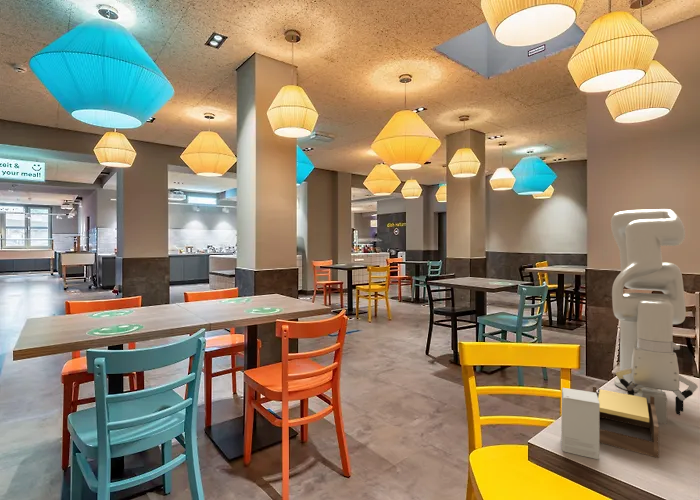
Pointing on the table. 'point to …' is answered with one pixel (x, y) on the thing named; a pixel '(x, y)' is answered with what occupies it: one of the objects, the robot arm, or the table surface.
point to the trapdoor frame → (628, 441)
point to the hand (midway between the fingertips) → (654, 408)
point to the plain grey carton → (657, 403)
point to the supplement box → (580, 423)
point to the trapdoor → (623, 405)
